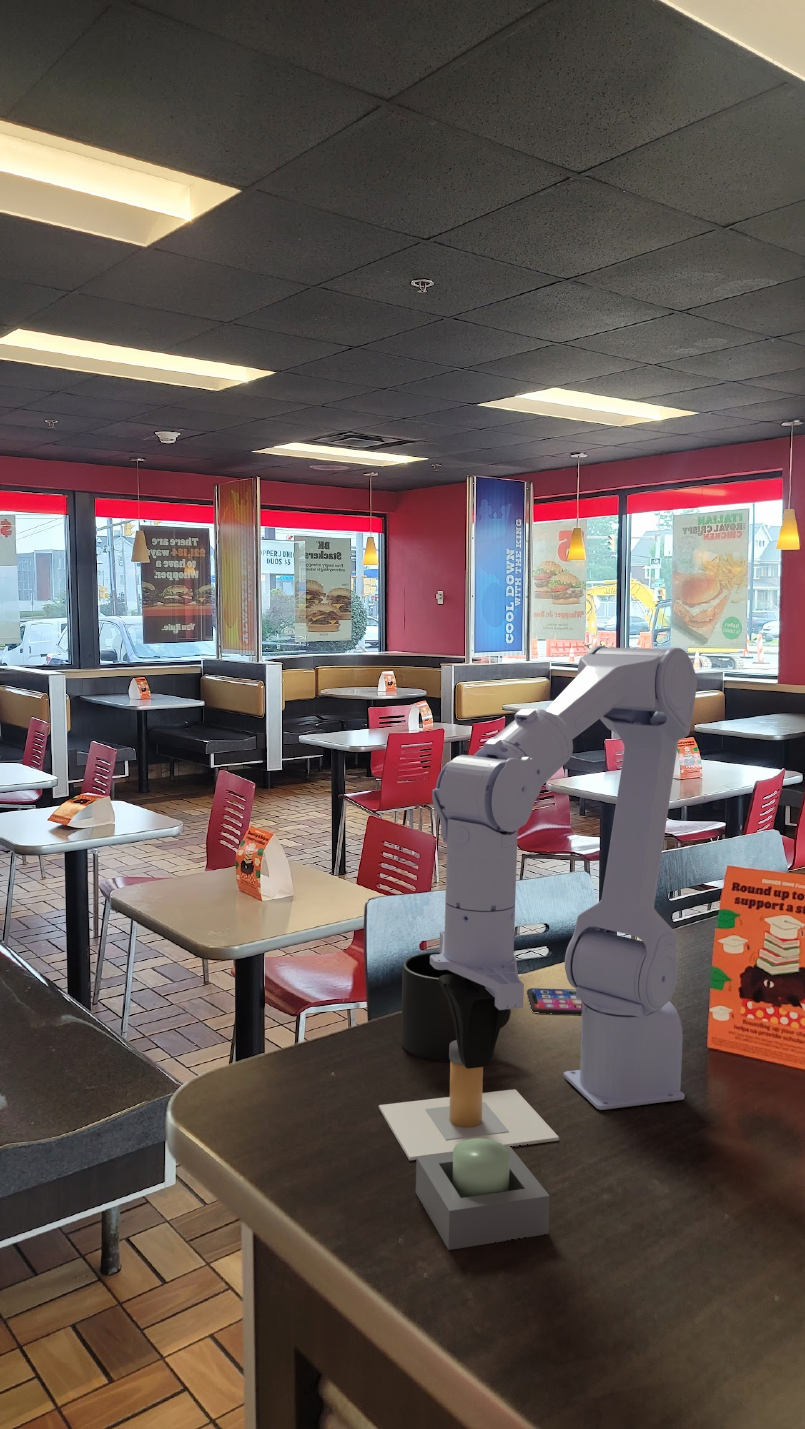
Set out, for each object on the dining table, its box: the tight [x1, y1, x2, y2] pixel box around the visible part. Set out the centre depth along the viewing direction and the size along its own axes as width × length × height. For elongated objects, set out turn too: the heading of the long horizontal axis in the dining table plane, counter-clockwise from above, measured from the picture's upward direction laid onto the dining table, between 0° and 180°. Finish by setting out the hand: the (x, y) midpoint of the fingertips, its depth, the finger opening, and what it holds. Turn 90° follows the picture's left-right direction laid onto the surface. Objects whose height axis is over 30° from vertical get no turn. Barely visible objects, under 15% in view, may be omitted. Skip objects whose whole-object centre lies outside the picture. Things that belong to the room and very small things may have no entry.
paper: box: [378, 1088, 560, 1162], centre depth 95 cm, size 14×10×1 cm
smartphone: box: [526, 987, 582, 1015], centre depth 127 cm, size 8×1×15 cm
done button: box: [452, 1138, 510, 1198], centre depth 80 cm, size 4×4×3 cm
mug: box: [400, 951, 512, 1063], centre depth 112 cm, size 9×12×9 cm
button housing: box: [415, 1145, 551, 1251], centre depth 80 cm, size 8×8×3 cm
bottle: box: [449, 1040, 484, 1127], centre depth 95 cm, size 3×3×7 cm
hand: (475, 1064), depth 85 cm, fingers closed
